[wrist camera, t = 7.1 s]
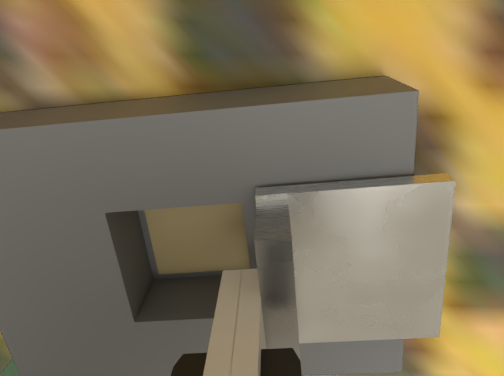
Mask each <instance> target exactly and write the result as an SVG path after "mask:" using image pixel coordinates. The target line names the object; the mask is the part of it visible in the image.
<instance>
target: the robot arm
mask: <svg viewBox="0 0 504 376" xmlns="http://www.w3.org/2000/svg"><path fill="white" fill-rule="evenodd" d="M171 376H302V373H301V362H300V359H299V357H298V356H297V354H296V353H295V351H294V349H293V348H277V349H266V340H265V331H264V323H263V314H262V305H261V296H260V289H259V280H258V271H257V269H240V270H224V271H223V272H222V278H221V283H220V288H219V293H218V299H217V304H216V309H215V315H214V320H213V325H212V330H211V336H210V341H209V346H208V351H207V353H188V354H183V355H182V356H181V357H180V359H179V360H178V361H177V362H176V364H175V365H174V366H173V369H172V373H171Z"/></svg>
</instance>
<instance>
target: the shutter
mask: <svg viewBox="0 0 504 376" xmlns="http://www.w3.org/2000/svg"><path fill="white" fill-rule="evenodd" d="M454 191H455V180H454V179H453V178H452V177H450V176H449V175H448V174H447V173H444V174H431V175H418V176H405V177H392V178H379V179H366V180H353V181H340V182H327V183H314V184H301V185H287V186H274V187H261V188H256V191H255V200H256V222H255V235H254V245H255V253H256V262H257V271H258V280H259V289H260V296H261V305H262V314H263V323H264V331H265V340H266V349H277V348H293V349H294V351H295V353H296V354H297V356H298V357H299V359H300V348H299V343H321V342H343V341H365V340H387V339H409V338H431V337H439V335H440V325H441V315H442V306H443V296H444V287H445V277H446V267H447V258H448V248H449V239H450V229H451V219H452V210H453V200H454Z"/></svg>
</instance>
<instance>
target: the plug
mask: <svg viewBox="0 0 504 376" xmlns="http://www.w3.org/2000/svg"><path fill="white" fill-rule="evenodd" d="M0 376H20V375H19V372H18V370H17V368H16V365H15V363H14V361H13V359H12V360H11V362H10V363H9V364H8V365H7V367H6V368H5V369H4V371H3V372H2V373H1V375H0Z"/></svg>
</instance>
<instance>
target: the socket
mask: <svg viewBox="0 0 504 376" xmlns="http://www.w3.org/2000/svg"><path fill="white" fill-rule="evenodd" d="M418 95H419V91H418V90H416V89H414V88H412V87H410V86H407V85H405V84H403V83H401V82H399V81H396V80H394V79H392V78H390V77H388V76H377V77H366V78H356V79H345V80H335V81H325V82H314V83H304V84H293V85H283V86H273V87H262V88H252V89H241V90H231V91H221V92H210V93H200V94H189V95H179V96H169V97H158V98H148V99H137V100H127V101H117V102H106V103H96V104H85V105H75V106H65V107H54V108H44V109H33V110H23V111H13V112H2V113H0V331H1V333H2V336H3V338H4V340H5V343H6V345H7V347H8V349H9V352H10V354H11V356H12V359H13V361H14V363H15V365H16V368H17V370H18V372H19V375H20V376H171V373H172V369H173V366H174V365H175V364H176V362H177V361H178V360H179V359H180V357H181V356H182V355H183V354H188V353H207V351H208V346H209V341H210V336H211V330H212V325H213V320H214V315H215V309H216V304H217V299H218V293H219V288H220V283H221V278H222V272H223V271H224V270H240V269H257V262H256V253H255V245H254V235H255V222H256V200H255V191H256V188H261V187H274V186H287V185H301V184H314V183H327V182H340V181H353V180H366V179H379V178H392V177H405V176H414V161H415V144H416V128H417V111H418ZM403 344H404V339H387V340H365V341H343V342H321V343H299V348H300V362H301V373H302V376H317V375H342V374H368V373H394V372H402V360H403Z"/></svg>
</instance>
